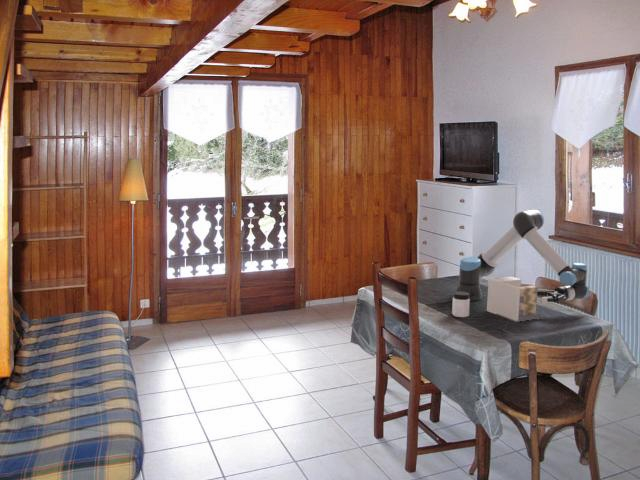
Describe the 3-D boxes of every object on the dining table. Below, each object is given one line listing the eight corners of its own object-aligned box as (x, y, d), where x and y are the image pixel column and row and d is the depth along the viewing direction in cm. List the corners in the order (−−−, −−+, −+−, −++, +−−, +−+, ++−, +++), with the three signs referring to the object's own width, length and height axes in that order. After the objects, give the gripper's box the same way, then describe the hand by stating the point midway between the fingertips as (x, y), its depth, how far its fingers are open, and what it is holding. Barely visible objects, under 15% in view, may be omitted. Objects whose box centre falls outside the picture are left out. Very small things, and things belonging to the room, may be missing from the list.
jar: (450, 316, 336) (451, 294, 335) (453, 312, 344) (454, 290, 342) (467, 318, 333) (468, 295, 331) (470, 314, 340) (471, 292, 338)
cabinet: (509, 308, 354) (511, 276, 351) (539, 319, 333) (541, 285, 330) (486, 310, 348) (488, 278, 345) (515, 322, 326) (517, 288, 324)
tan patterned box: (530, 314, 337) (532, 285, 335) (535, 316, 334) (537, 287, 331) (512, 317, 333) (514, 287, 330) (517, 319, 329) (519, 289, 326)
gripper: (581, 306, 331) (549, 310, 322) (546, 295, 353) (516, 298, 345) (582, 292, 329) (550, 295, 321) (547, 281, 352) (517, 284, 344)
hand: (532, 297), depth 333 cm, fingers open, 13 cm apart
